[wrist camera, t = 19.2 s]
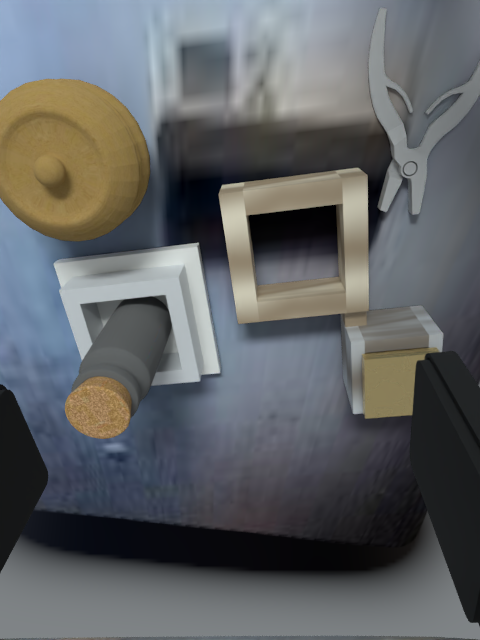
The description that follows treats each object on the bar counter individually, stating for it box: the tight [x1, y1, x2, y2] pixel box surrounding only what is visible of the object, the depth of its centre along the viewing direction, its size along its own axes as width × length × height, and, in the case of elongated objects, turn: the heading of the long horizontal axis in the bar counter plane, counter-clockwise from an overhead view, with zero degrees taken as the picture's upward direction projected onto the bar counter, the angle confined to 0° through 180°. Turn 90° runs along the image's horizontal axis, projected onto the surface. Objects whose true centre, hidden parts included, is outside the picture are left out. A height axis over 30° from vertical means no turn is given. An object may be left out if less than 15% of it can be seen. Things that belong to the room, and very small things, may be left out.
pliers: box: [368, 8, 480, 215], centre depth 38 cm, size 10×2×15 cm
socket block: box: [219, 168, 443, 414], centre depth 43 cm, size 22×18×6 cm
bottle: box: [65, 296, 172, 439], centre depth 40 cm, size 6×6×15 cm
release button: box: [362, 347, 439, 419], centre depth 44 cm, size 6×6×6 cm
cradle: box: [54, 243, 221, 386], centre depth 45 cm, size 14×14×5 cm
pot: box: [0, 79, 150, 241], centre depth 36 cm, size 12×12×10 cm
